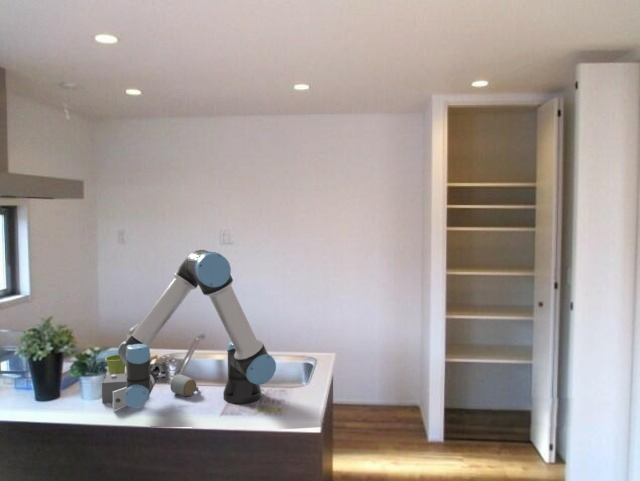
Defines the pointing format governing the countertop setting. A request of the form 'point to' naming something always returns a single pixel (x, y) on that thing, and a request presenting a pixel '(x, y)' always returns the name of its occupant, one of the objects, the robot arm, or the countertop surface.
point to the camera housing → (112, 386)
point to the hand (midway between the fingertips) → (154, 362)
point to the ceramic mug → (183, 385)
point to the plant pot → (115, 365)
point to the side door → (119, 394)
